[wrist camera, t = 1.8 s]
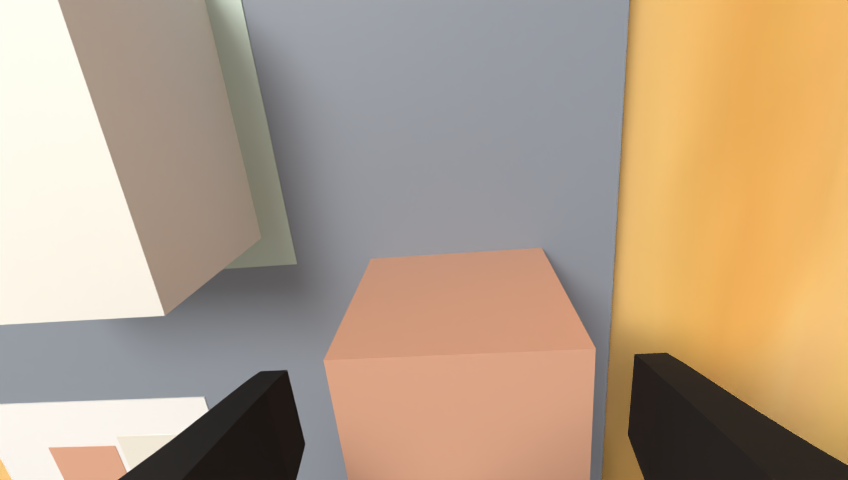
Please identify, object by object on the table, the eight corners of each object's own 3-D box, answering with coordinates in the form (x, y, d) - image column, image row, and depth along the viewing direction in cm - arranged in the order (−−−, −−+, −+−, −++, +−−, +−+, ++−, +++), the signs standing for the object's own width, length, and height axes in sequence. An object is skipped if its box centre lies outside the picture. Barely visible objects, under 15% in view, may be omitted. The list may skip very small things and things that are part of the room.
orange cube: (542, 389, 12) (586, 544, 8) (390, 395, 13) (361, 544, 9) (541, 247, 11) (595, 348, 7) (371, 259, 11) (323, 360, 7)
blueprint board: (590, 530, 15) (597, 555, 14) (72, 533, 17) (53, 555, 16) (640, -493, 7) (663, -567, 6) (-352, -277, 9) (-432, -313, 8)
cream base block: (261, 238, 11) (164, 315, 7) (52, 253, 12) (-136, 332, 8) (198, -25, 9) (23, -99, 5) (-50, 8, 10) (-365, -38, 6)
